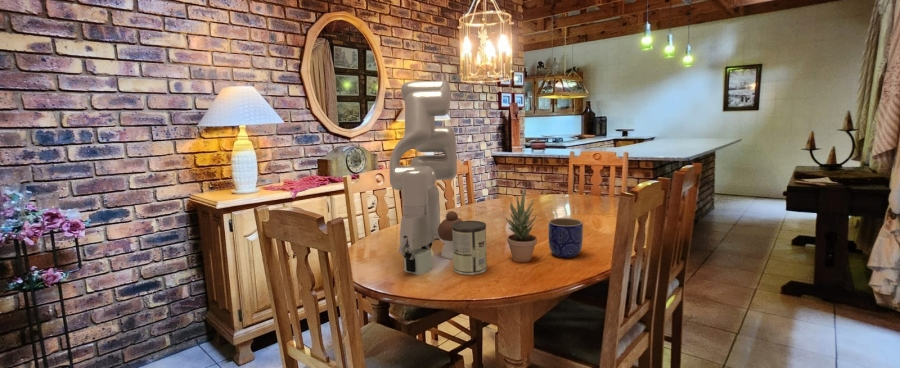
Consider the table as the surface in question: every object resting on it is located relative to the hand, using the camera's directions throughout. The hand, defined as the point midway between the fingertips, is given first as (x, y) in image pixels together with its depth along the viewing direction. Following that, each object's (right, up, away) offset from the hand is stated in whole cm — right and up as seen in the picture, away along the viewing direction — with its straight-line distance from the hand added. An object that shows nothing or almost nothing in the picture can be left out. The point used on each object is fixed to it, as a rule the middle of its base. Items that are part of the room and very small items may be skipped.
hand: (418, 267), depth 139 cm
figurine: (+11, +2, +14) cm, 18 cm away
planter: (+48, +2, +11) cm, 49 cm away
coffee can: (+16, -1, 0) cm, 16 cm away
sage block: (0, -1, 0) cm, 1 cm away
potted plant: (+33, +1, +8) cm, 34 cm away
